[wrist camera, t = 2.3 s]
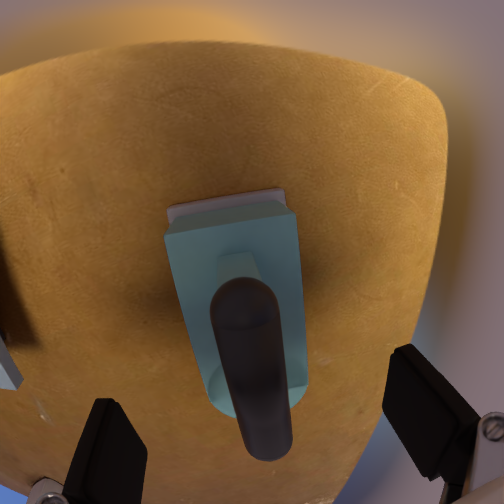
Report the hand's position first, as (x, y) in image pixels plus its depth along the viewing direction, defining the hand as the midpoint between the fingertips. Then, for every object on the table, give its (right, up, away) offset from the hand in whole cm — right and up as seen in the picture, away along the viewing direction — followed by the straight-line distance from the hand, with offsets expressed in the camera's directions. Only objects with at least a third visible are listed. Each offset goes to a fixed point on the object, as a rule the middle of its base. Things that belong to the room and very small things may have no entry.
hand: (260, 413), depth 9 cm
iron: (-1, +3, +8) cm, 9 cm away
